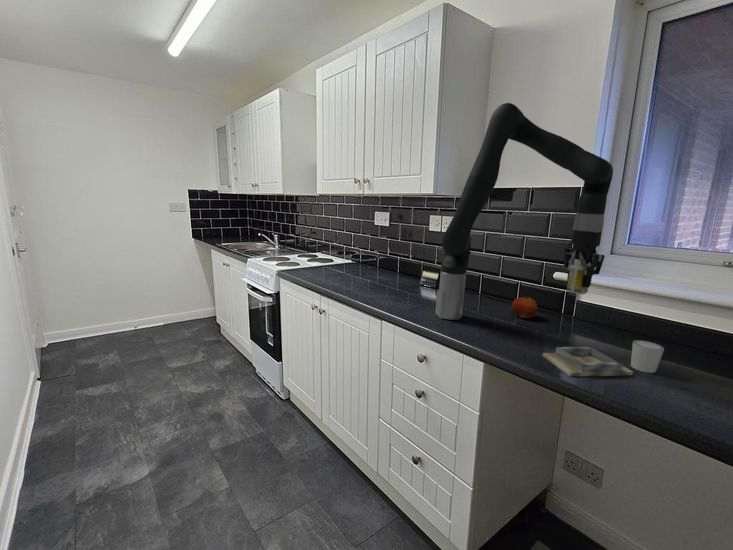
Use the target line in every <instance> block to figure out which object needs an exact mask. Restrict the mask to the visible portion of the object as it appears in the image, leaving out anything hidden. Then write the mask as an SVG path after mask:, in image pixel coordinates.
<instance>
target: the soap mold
mask: <svg viewBox="0 0 733 550" xmlns="http://www.w3.org/2000/svg"><path fill="white" fill-rule="evenodd" d="M530 550H552V548H550V547H549V546H547V545H546V544H544V542H541V540H539V539H537V540H536V542H534V544H533V545H532V547H531V548H530Z"/></svg>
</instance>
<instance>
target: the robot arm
mask: <svg viewBox="0 0 733 550" xmlns="http://www.w3.org/2000/svg"><path fill="white" fill-rule="evenodd" d="M490 116H491V117H490V119H489V123H488V125H487V129H486V132H485V135H484V138H483V142H482V143H481V147H480V150H479V151H478V154H477V157H476V159H475V161H474V163H473V166H472V168H471V171H470V172H469V174H468V177H467V180H466V182H465V185H464V187H463V190H462V193H461V194H460V195H461V196H460V199H459V200H458V204H457V206H456V209H455V213H454V215H453V217H452V218H451V221H450V223H449V224H448V226H447V228H446V230H445V231H444V233H443V235H442V238H441V247H442V249H443V251H444V255H443V260H442V261H441V265H440V276H439V284H438V285H439V287H438V289H437V290H436V299H435V300H436V301H435V310H434V312H435V313H434V314H435V315H436V316H437V317H438V318H439V319H442V320H443V319H444V320H448V321H449V320H450V321H451V320H452V321H453V320H454V321H456V320H460V319H462V316H463V307H464V297H465V287H466V279H467V278H466V277H467V270H468V267H469V266H468V265H469V261H470V254H471V252H470V251H471V247H472V245H471V244H472V239H471V235H470V233H471V232H472V229H473V226H474V223H475V221H476V219H477V218H478V216H479V215H480V213H481V212H482V210H483V209H484V208H485V206H486V204H487V202H488V201H489V199H490V197H491V195H492V193H493V190H494V189H495V185H496V183H497V181H498V178H499V173H500V167H501V161H502V160H501V159H502V155H503V153H504V149H505V147H506V145H507V143H508V141H509V140H512V141H514V142H516V143H519V144H522V145H524V146H527V147H528V148H530V149H532V150H534V151H535V152H536V153H538V154H540V155H541V156H542V157H544V158H545V159H547V160H548V161H551V162H552V163H553V164H555V165H557V166H559V167H561V168H563V169H565V170H566V171H569V172H571V174H573V175H575V176H576V177H577V178H579V179H581V180H582V181H584V182H583V187H582V193H581V194H580V196H579V198H578V201H577V207H576V214H575V217H574V221H573V225H572V231H571V232H572V233H571V239H570V243H571V244H572V248H571V247H566V248H565V247H564V254H563V255H564V256H563V267H564V268H567V281H566V282H568V279H569V272H570V267H571V265H574V260H575V259H578V260H581V267H582V268H583V271H584V275H583V279H582V285H581V286H582V287H588V288H590V286H591V284H592V280H593V279H592V278H593V276H594V275H599V274H600V272H601V270H602V265H603V263H604V260H605V258H606V257H605V255H604V254H599V253H598V252H597V248H598V247H599V246H600V245H601V241H602V235H603V229H604V224H605V211H606V205H607V197H608V193H609V191H610V187H611V183H612V179H613V175H614V168H613V165H612V164H611V163H610V162H609V161H608V160H606V159H605V158H603V157H600V156H598V155H597V154H594V153H592V152H590V151H588V150H585V149H584V148H583V147H581V146H580V145H578V144H576V143H574V142H572V141H570V140H569V139H568V138H565V137H563V136H561V135H558V134H557V133H553V132H552V131H551V132H550V131H548V130H546V129H543V128H541V127H539V126H538V125H536V124H535V123H533V121H531V120H530V119H529V118H528V117H527V116H525V114H524V112H522V111H521V109H520V108H518V106H517V105H515V104H514V103H511V102H505V103H502V104H500V105H499V106H498V107H496V109H495V110H494V111H493V112H492V114H491V115H490ZM588 263H589V264H588ZM588 268H589V271H588Z"/></svg>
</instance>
